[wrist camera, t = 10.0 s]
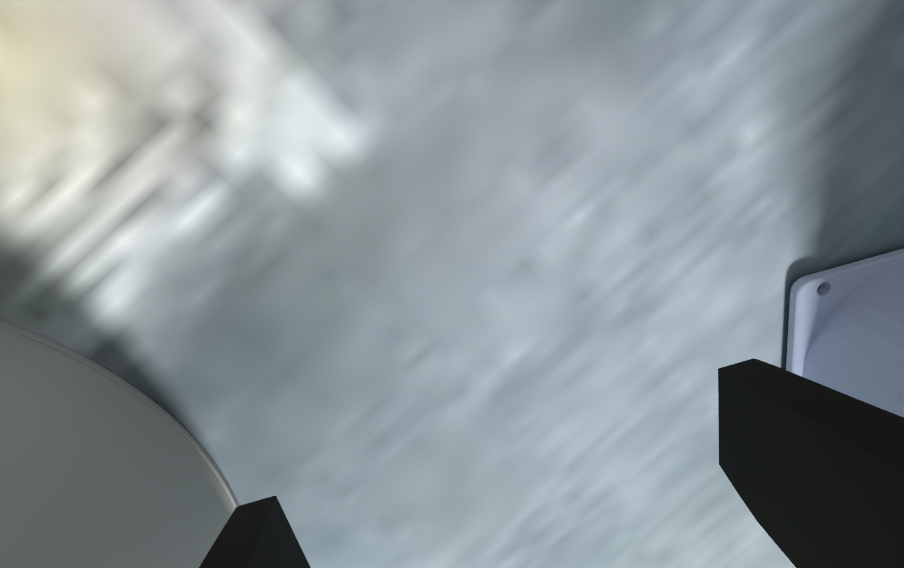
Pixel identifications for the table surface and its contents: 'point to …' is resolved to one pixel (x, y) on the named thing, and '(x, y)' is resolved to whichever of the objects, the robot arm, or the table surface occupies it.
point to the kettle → (96, 468)
